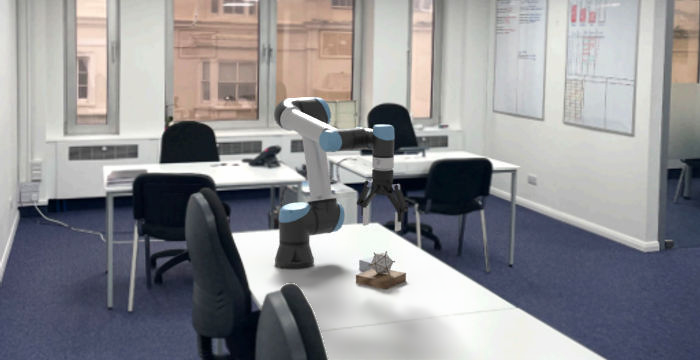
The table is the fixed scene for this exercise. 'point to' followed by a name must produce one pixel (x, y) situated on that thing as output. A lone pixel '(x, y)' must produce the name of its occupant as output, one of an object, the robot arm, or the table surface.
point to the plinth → (380, 279)
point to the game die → (381, 263)
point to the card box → (365, 264)
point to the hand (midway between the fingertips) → (381, 227)
